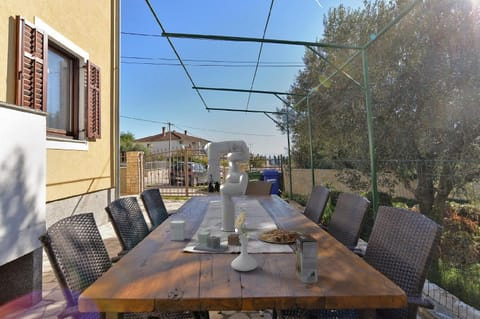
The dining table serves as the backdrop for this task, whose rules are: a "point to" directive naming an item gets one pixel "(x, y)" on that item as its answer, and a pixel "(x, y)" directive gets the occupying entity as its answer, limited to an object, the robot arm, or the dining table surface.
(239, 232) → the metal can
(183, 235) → the small box
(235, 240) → the walnut block
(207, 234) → the sage block
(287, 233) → the rice dish
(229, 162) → the robot arm
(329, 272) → the dining table surface
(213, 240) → the dice cube
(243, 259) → the flower in vase
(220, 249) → the slate mat
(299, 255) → the coffee box
